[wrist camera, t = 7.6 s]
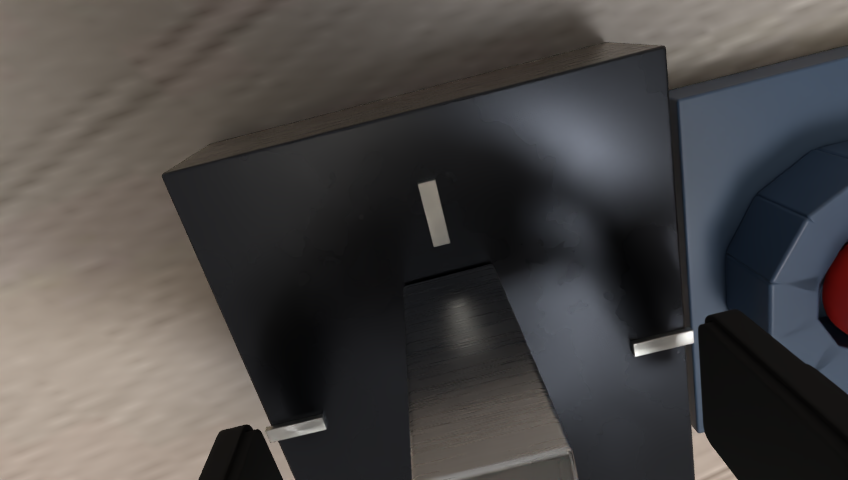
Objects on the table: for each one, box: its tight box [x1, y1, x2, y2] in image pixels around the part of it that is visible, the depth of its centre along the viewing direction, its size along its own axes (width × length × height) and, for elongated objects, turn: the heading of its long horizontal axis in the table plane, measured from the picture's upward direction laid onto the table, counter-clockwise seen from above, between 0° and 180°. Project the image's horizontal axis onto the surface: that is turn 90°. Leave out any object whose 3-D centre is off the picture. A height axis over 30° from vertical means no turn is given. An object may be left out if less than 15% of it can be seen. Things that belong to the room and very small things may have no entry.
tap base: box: [162, 42, 695, 480], centre depth 14 cm, size 13×10×3 cm
